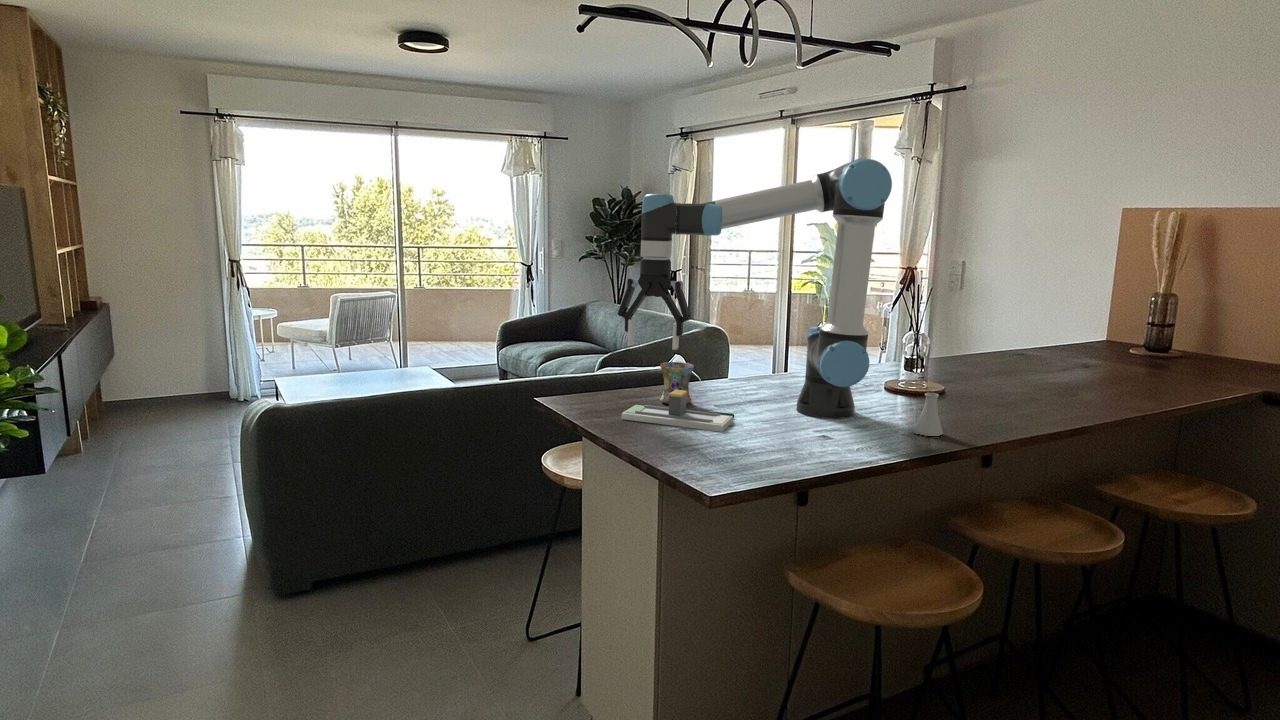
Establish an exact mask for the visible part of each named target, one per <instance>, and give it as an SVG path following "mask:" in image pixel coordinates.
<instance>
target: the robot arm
mask: <svg viewBox="0 0 1280 720" xmlns="http://www.w3.org/2000/svg"><path fill="white" fill-rule="evenodd" d="M887 168H888V167H886V166H885V165H884V164H883V163H882V162H880V161H878V160H877V159H872V158H857V159H855V160H851V162H847V163H844V164H843V165H841V166H838V167H837V168H834V169H831V170H829V171H826V172H821V173H817V174H814V175H813V177H812V178H811V179H810V180H805V181H800V182H795V183H790V184H785V185H781V186H776V187H772V188H768V189H763V190H758V191H754V192H749V193H745V194H740V195H735V196H730V197H725V198H722V199H717V200H711V201H708V202H701V203H681V202H675V200H674V196H673V194H670V193H669V194H667V193H664V194H663V193H647V194H644V196H643V198H642V208H641V226H640V227H641V230H640V231H641V233H640V234H641V236H640V237H641V240H640V257H642V258H641V259H640V264H639V265H640V267H639V278H635V277H631V278H627V280H626V281H627V282H626V283H627V284H626V285H627V286H626V290H625V292H624V295H623V298H622V301H621V303H620V306H619V309H618V310H617V316H619V317H622V318H624V331H625V332H627V346H628V347H629V346H633V345H635V338H636V337H635V333H636V331H635V329H636V327H635V325H636V318H633V316H634V315H635V313H636V312H638V309H639V307H641V305H642V303H643V302H644V301H645V299H646V298H647V297H655V298H661V299H662V300H663V301H664V303H665V304H666V306H667V308H668V310H669V311H670V313H671V315H672V316H673V319H674V320H675V322H674V323H672V344H671V347H672V348H671V349H672V351H673V350H674V351H676V350H678V349H679V345H680V344H679V342H680V341H679V340H680V337H681V336H683V334H684V333H683V332H684V323H685V322H688V321H690V320H691V319H692V317H691V316H692V315H691V313H690V310H689V307H688V303H687V299H686V297H685V293H684V282H683V280H672V278H671V275H672V274H671V272H672V261H671V259H670V258H671V257H672V249H673V248H672V243H673V235H686V236H687V235H688V236H706V237H711V236H719V235H720V234H721V233H722V230H725V229H730V228H734V227H739V226H744V225H749V224H754V223H758V222H763V221H767V220H772V219H777V218H781V217H788V216H791V215H797V214H800V213H801V214H802V213H806V212H811V211H815V210H816V211H818V212H820V213H826V212H830V211H832V217H833V218H834V220H835V221H836V222H837V231H836V232H837V233H836V239H835V240H836V241H835V250H834V259H833V267H832V275H831V283H830V284H831V285H830V291H829V292H830V293H829V300H828V302H829V303H828V309H827V310H828V311H827V317H826V318H827V320H826V322H825V323H824V324H822V325H821V326H811V327H810V328H809V330H808V335H807V337H806V338H807V349H806V365H805V377H804V384H803V387H802V389H801V390H800V394H799V396H798V398H797V400H796V411H797V412H798V413H801V414H802V415H806V416H810V417H815V418H823V419H846V418H851V417H853V416H855V411H856V410H855V407H856V405H855V402H854V397H853V393H852V389H851V387H852V386H854V385H856V384H858V383H860V382H861V381H862V380H863V379H864V378H865V377H866V375H867V373H868V371H869V369H870V356H869V353H868V351H867V348H868V341H869V339H868V338H869V331H868V330H867V329H866V327H864V318H865V311H866V302H867V296H868V295H867V293H868V286H869V278H870V269H871V264H872V263H871V262H872V254H873V245H874V237H875V231H876V230H875V228H876V227H877V225H878V224H879V223H880V222H882V221H883V218H884V211H885V205H886V202H887V201H888V199H889V196H890V195H891V192H892V188H893V181H892V176H891V173H890V172H889V170H888V169H887ZM638 285H639V287H640V288H641V290H640V291H639V292H638V294H637V296H636V298H635V300H634V301H633V303H631V301H632V297H633V295H634V292H635V289H636V288H637V286H638ZM671 287H672V288H673V291H675V296H676V300H677V302H678V305H679V308H678V306H677V304H676V302H675V301H674V299H673V298H672V295H671V293H670V291H669V289H670V288H671ZM630 303H631V306H630V307H629V305H630Z"/></svg>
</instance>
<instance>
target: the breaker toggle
mask: <svg viewBox="0 0 1280 720" xmlns="http://www.w3.org/2000/svg"><path fill="white" fill-rule="evenodd" d="M686 401H687V391H684V390H674V391H672V392H671V393H669V404H668V407H669V415H677V416H682V415H683V414H685V413H686V409H687V404H686Z"/></svg>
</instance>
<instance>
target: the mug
mask: <svg viewBox="0 0 1280 720" xmlns="http://www.w3.org/2000/svg"><path fill="white" fill-rule="evenodd" d="M659 366H660V369H661V371H662V376H663V391H662V395H661V396H660V401H661V402H662V403H664V404H667V405H669V393H671V392H672V391H674V390H684V391H687V401H686V405H688V404H690V403H691V402H692V398H691V395H690V390H689V389H690V388H689V384H690V379H691V375H692V373H693V370H694V368H695V365H694V364H692V363H689V362H683V361H682V362H681V361H680V362H679V361H667V362H662V363H660V364H659Z"/></svg>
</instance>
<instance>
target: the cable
mask: <svg viewBox="0 0 1280 720" xmlns="http://www.w3.org/2000/svg"><path fill="white" fill-rule="evenodd" d="M657 406H658V405H657ZM658 407H660V406H658ZM665 407H666V408H669V406H665ZM686 410H692V411H700V412H709V413H717V414H720V415H727V416H733V419H734V418H735V414H734V413H727V412H717V411H709V410H697V409H689V408H686Z"/></svg>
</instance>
